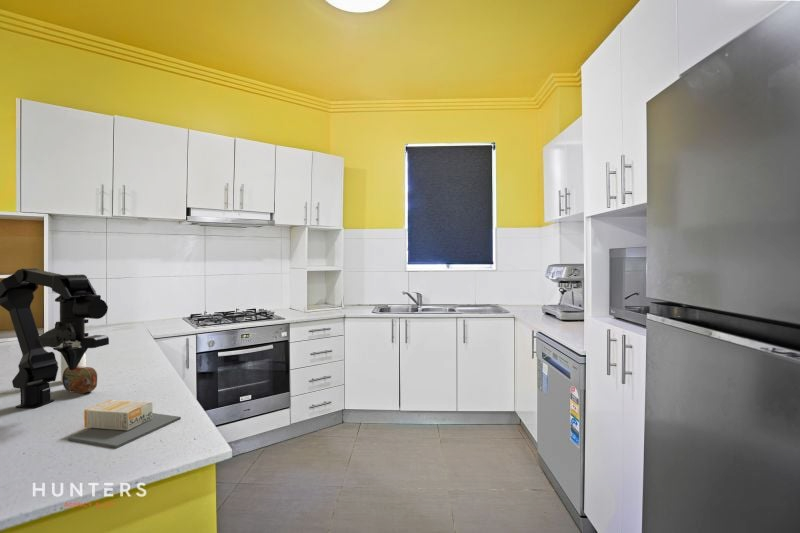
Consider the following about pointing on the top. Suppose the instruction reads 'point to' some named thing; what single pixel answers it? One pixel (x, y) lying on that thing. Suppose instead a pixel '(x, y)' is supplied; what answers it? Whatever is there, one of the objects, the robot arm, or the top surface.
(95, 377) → the tin
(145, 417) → the supplement box
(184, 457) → the top surface
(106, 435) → the mat
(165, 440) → the top surface
